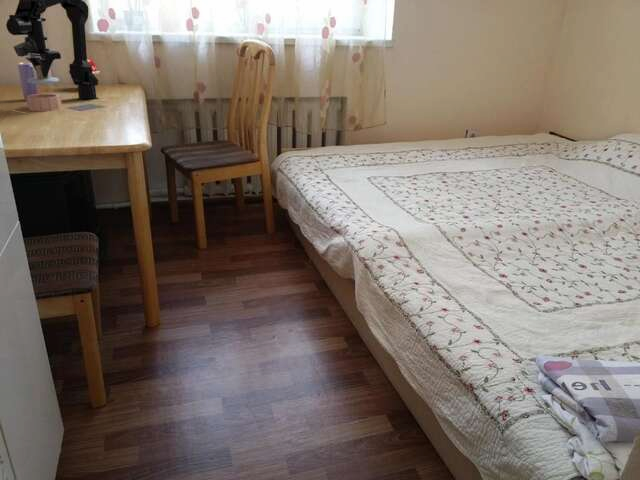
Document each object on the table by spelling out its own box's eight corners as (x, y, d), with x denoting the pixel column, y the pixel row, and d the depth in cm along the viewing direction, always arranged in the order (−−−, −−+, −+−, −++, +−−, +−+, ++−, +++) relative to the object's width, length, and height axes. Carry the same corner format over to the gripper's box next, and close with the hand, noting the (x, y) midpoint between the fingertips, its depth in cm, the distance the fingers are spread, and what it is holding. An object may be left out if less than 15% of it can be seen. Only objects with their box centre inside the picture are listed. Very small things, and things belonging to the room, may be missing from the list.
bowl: (50, 105, 218) (48, 92, 216) (68, 108, 213) (66, 95, 210) (22, 109, 209) (19, 96, 207) (40, 113, 203) (38, 99, 201)
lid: (47, 79, 213) (45, 63, 211) (65, 82, 208) (62, 66, 206) (21, 82, 205) (18, 65, 202) (39, 84, 200) (36, 68, 197)
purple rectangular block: (33, 101, 224) (26, 64, 218) (21, 100, 225) (13, 63, 219) (43, 99, 229) (36, 63, 223) (30, 98, 231) (24, 62, 224)
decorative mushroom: (70, 88, 259) (65, 55, 252) (101, 87, 264) (96, 55, 258) (71, 92, 247) (66, 58, 241) (103, 91, 253) (99, 58, 246)
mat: (90, 104, 222) (90, 103, 221) (106, 107, 217) (106, 106, 217) (64, 108, 212) (64, 107, 212) (80, 111, 208) (80, 110, 207)
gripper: (-1, 33, 197) (8, 76, 204) (30, 36, 189) (38, 81, 195) (28, 32, 206) (35, 74, 212) (58, 35, 198) (65, 78, 204)
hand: (42, 77), depth 206 cm, fingers closed on lid, 3 cm apart
